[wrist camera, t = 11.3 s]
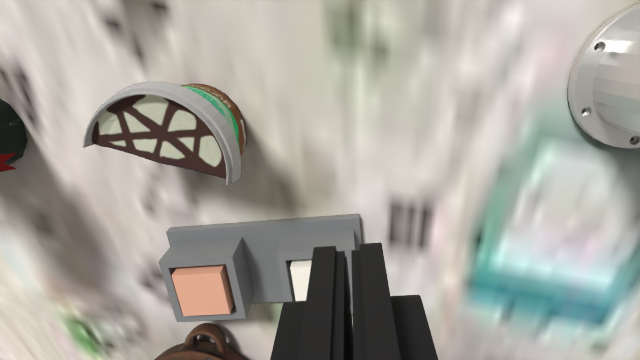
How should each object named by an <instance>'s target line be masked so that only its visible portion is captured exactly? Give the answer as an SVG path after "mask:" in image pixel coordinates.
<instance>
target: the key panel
mask: <svg viewBox="0 0 640 360" xmlns="http://www.w3.org/2000/svg"><path fill="white" fill-rule="evenodd" d="M166 233H167V237H168V240H169V244H170V248H169V249H168V251H167V252H166V253H165V254H164V256H163V257H162V258H161V259H160V261H159V264H160V268H161V271H162V274H163V277H164V281H165V284H166V287H167V291H168V294H169V297H170V300H171V304H172V307H173V310H174V314H175V317H176V320H177V322H190V321H210V320H231V319H246V318H247V315H248V312H249V309H250V306H251V303H267V302H291V301H296V300H295V294H294V288H293V281H292V275H291V269H290V267H291V263H292V260H302V259H312V256H313V249H314V247H323V246H336V249H337V251H345V258H346V268H347V277H348V287H349V297H350V306H351V314H353V300H352V259H351V250H360V244H362V243H361V231H360V219H359V214H349V215H336V216H322V217H309V218H295V219H281V220H268V221H254V222H241V223H227V224H213V225H200V226H186V227H173V228H169V229H168V231H167V232H166ZM222 264H226V267H227V271H228V275H229V280H230V284H231V288H232V293H233V297H234V301H235V303H234V305H233V308H232V310H231V312H230V314H217V315H197V316H183V313H182V310H181V306H180V303H179V300H178V296H177V293H176V289H175V286H174V283H173V279H172V274H173V273H174V271H175V270H176V269H177V267H190V266H206V265H222Z"/></svg>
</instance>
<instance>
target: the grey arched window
mask: <svg viewBox="0 0 640 360" xmlns="http://www.w3.org/2000/svg"><path fill="white" fill-rule="evenodd" d="M246 140H247V132H246V127H245V121H244V118H243V116H242V114H241V113H240V111H239V109H238V107H237V105H236V104H235V103H234V102H233V101H232V100H231V99H230V98H229V97H228V96H227V95H226V94H225V93H223V92H221V91H220V90H218V89H216V88H214V87H211V86H209V85H204V84H188V85H181V86H179V85H177V84H173V83H167V82H157V81H149V82H142V83H137V84H134V85H131V86H128V87H126V88H124V89H122V90H121V91H119V92H117V93H116V94H115V95H113V96H112V97H111V98H110V99H108V100H107V101H106V102H105V103H104V104H102V105H101V106H100V107H99V109H98V110H97V111H96V112H95V114H94V115H93V117H92V119H91V121H90V123H89V125H88V127H87V130H86V133H85V136H84V141H83V148H85V147H87V146H90V145H93V144H96V145H99V146H102V147H109V148H113V149H117V150H120V151H124V152H127V153H131V154H134V155H137V156H140V157H143V158H146V159H149V160H152V161H155V162H158V163H162V164H167V165H172V166H177V167H182V168H186V169H191V170H195V171H199V172H203V173H206V174H210V175H214V176H218V177H221V178H225V179H226V186H227V185H228V184H229V183H234V182H235V181H237V180H238V179H240V176H241V156H242V153H243V151H244V149H245V147H246Z"/></svg>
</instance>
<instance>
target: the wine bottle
mask: <svg viewBox="0 0 640 360" xmlns="http://www.w3.org/2000/svg"><path fill="white" fill-rule="evenodd" d="M26 144H27V137H26V133H25V128H24V124H23V121H22V120H21V119H20V117H19V116H18V115H17V114H16V112H15V111H14V110H13V109H12V107H11V106H10V105H9V104H8V103H6V102H5V101H3V100H1V99H0V172H1V171H7V170H12V169H16V168H14V167H12V166H9V164H11V163H12V162H14V161H16V160H17V159H19V158H21V157H22V156H23V153H24V150H25V147H26Z"/></svg>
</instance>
